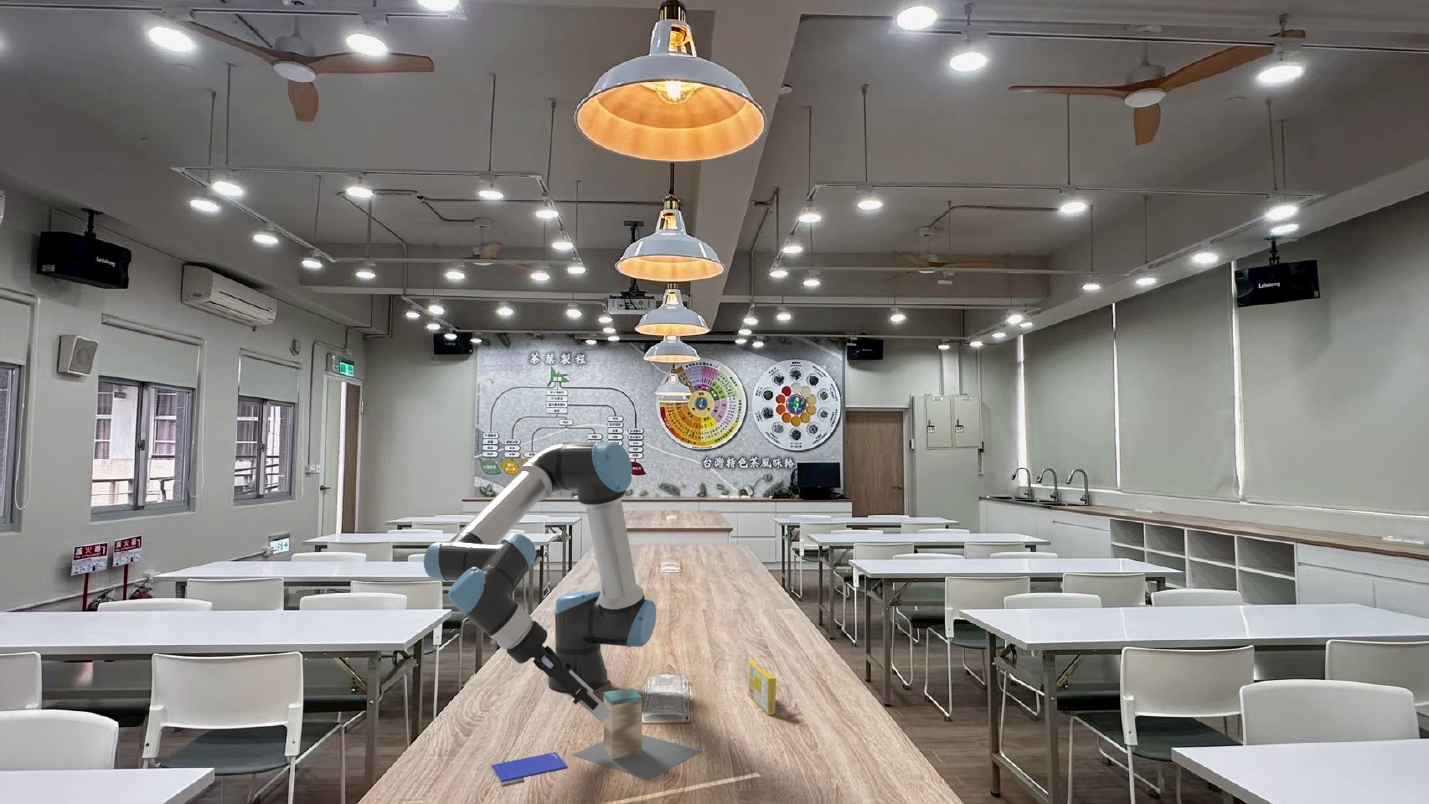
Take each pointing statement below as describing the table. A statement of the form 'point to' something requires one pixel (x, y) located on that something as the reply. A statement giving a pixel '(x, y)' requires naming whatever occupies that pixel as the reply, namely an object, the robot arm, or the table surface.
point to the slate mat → (642, 757)
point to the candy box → (762, 687)
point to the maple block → (623, 723)
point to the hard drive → (527, 767)
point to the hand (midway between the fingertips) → (597, 705)
